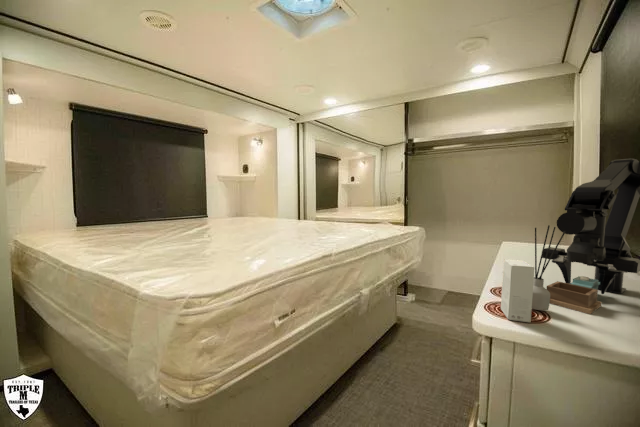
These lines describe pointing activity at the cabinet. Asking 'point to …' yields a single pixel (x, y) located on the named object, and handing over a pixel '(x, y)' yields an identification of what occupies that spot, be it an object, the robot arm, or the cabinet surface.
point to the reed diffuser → (539, 292)
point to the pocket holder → (574, 297)
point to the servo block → (586, 282)
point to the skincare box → (517, 290)
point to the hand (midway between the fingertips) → (584, 289)
